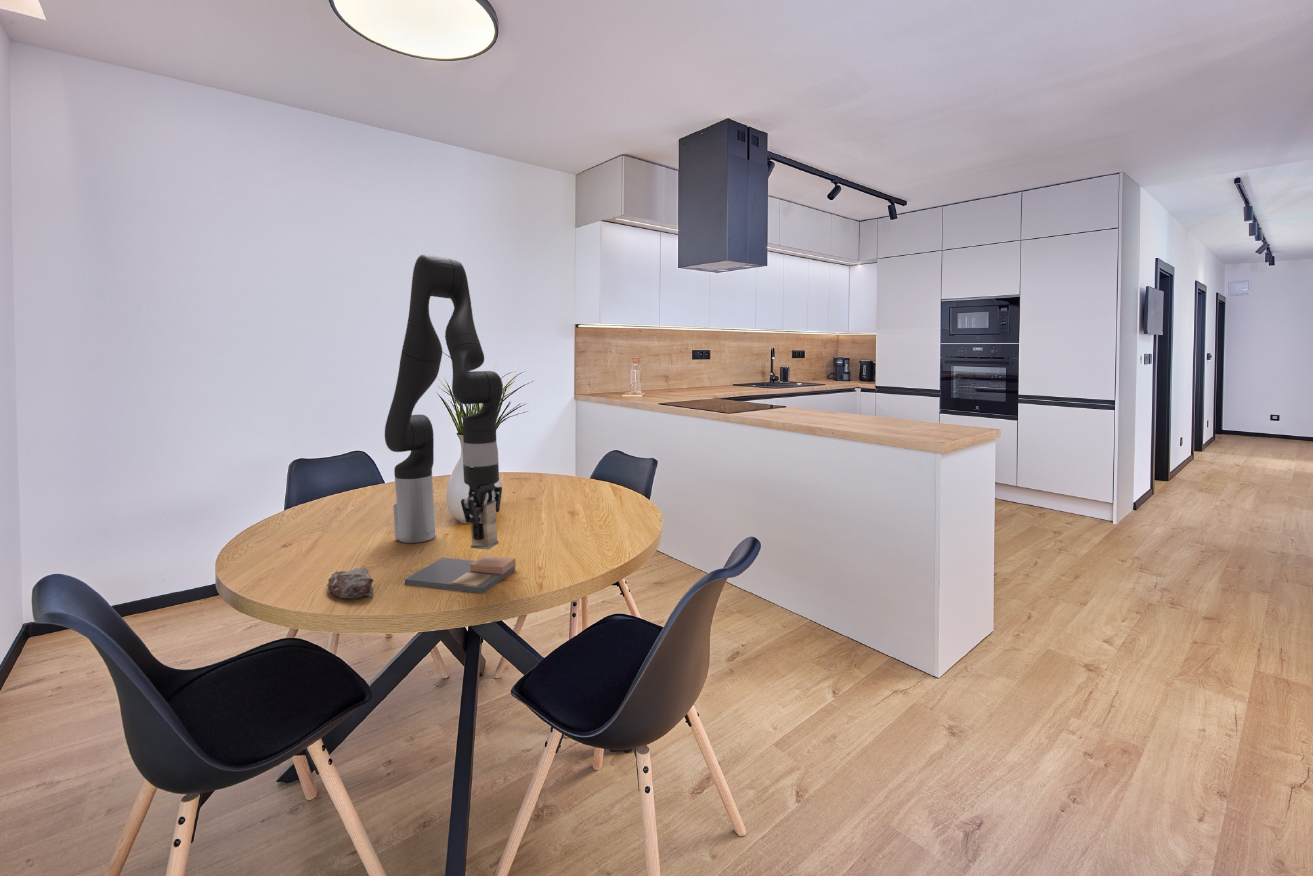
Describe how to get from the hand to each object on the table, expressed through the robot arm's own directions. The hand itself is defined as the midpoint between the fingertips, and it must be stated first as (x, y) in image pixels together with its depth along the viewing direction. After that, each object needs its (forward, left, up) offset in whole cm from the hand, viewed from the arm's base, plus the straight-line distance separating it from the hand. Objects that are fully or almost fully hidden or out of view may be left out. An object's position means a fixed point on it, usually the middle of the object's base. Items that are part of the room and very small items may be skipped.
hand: (484, 536), depth 135 cm
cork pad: (+1, -8, -8) cm, 11 cm away
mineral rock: (-22, -17, -9) cm, 29 cm away
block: (0, 0, -2) cm, 2 cm away
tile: (-2, 0, -7) cm, 7 cm away
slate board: (-4, -4, -9) cm, 10 cm away
